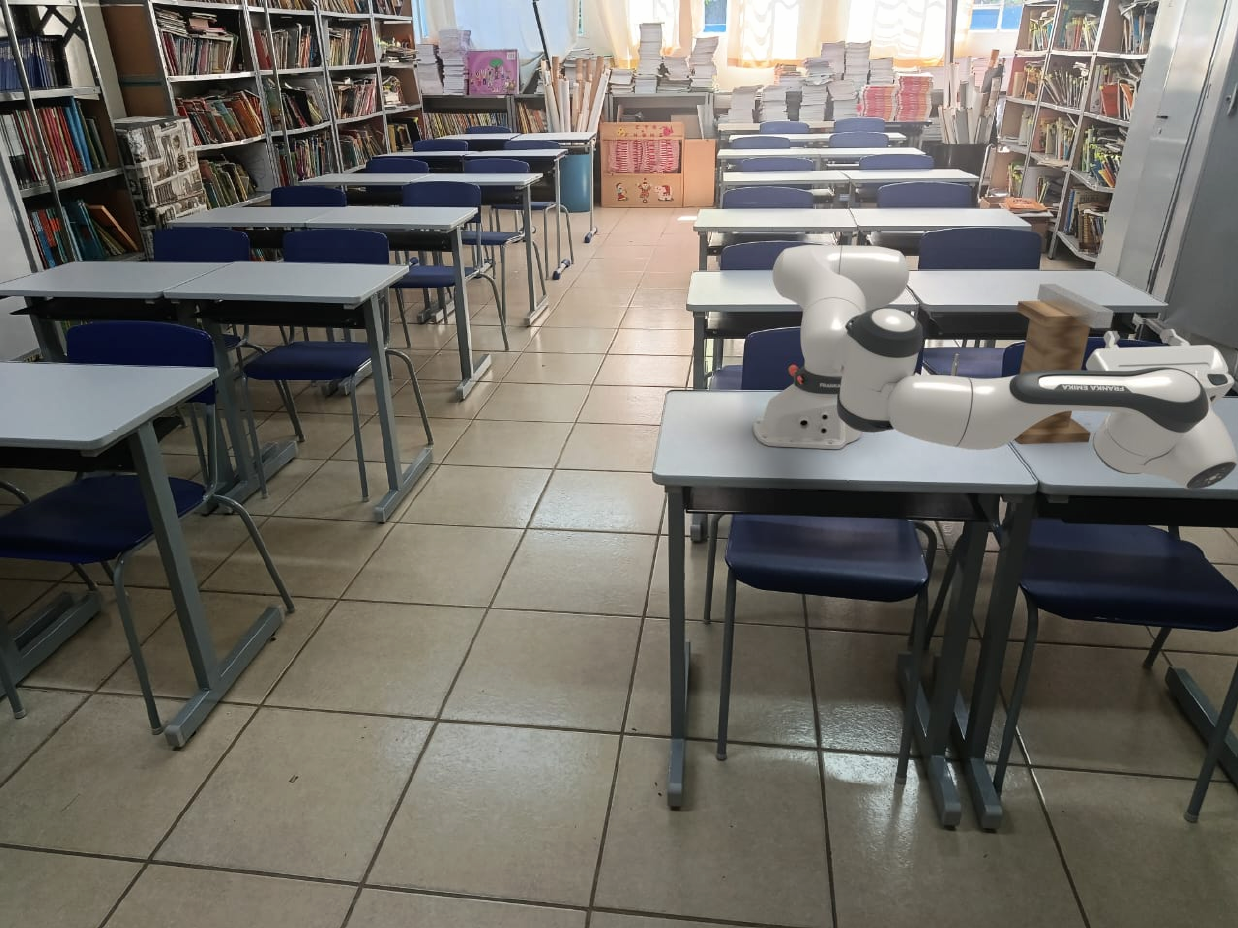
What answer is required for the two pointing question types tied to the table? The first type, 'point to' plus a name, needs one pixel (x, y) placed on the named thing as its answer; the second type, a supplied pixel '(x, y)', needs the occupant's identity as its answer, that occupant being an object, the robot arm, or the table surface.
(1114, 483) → the table surface
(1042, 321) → the walnut stand
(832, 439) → the robot arm
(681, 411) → the table surface
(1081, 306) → the metal block
